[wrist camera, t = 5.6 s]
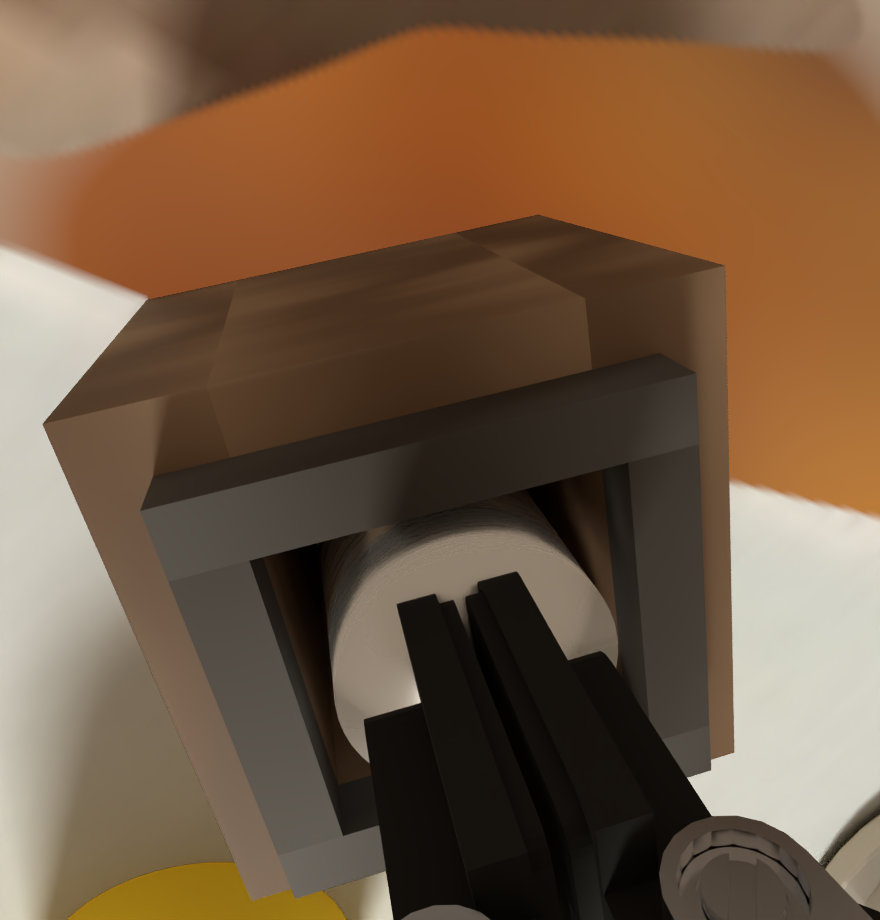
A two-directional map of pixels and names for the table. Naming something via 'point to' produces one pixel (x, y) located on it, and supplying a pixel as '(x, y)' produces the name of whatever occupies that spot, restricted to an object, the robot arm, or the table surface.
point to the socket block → (402, 490)
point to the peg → (444, 594)
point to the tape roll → (202, 898)
